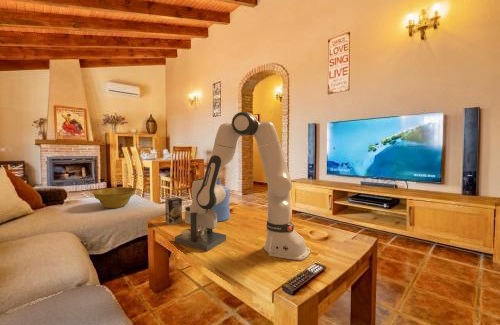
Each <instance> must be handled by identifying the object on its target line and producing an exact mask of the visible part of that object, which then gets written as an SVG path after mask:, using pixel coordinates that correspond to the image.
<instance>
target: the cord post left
mask: <svg viewBox="0 0 500 325" xmlns="http://www.w3.org/2000/svg"><path fill="white" fill-rule="evenodd" d="M190 218H191V224H190V230H191V241H196V240H197V213H190Z"/></svg>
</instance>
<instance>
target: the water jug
mask: <svg viewBox="0 0 500 325" xmlns="http://www.w3.org/2000/svg"><path fill="white" fill-rule="evenodd" d="M216 184H217V185H221V186H223V187H224V189H225V190H226V198H225V199H224V200H223V201H222V202H220V203H219V204H217V205H215V206H214V207H212V211H214V212H215V213H216V214H217V223H218V222H219V223H220V222H224V221H225V222H226V221H228V220H229V219H230V217H231V215H230V214H231V213H230V210H231V209H230V195H231V194H230V192H231V191H230V187H227V186H225V185H223V184H221V178H219V177H218V179H217V183H216Z"/></svg>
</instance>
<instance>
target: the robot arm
mask: <svg viewBox="0 0 500 325" xmlns="http://www.w3.org/2000/svg"><path fill="white" fill-rule="evenodd" d="M247 136H253V137H254V139H255V141H256V146H257V149H258V152H259V156H260V159H261V164H262V168H263V172H264V176H265V180H266V183H267V220H266V238H265V239H266V240H265V244H264V246H263V248H264V249H263V250H264V251H265V252H267V254H268V256H269V257H273V258H279V259H280V258H282V259H288V260H292V261H294V260H295V261H304V260H307V258H308V257H309V256H310V255H311V248H309V247H308V246H306V240H305V239H304V237H303V236H302V235H301V234H299V233H298V232H297V231H296V230H295V229H294V228H295V225H296V224H295V223H292V222H291V195H290V194H291V192H290V191H291V190H292V188H293V183H292V179H291V175H290V173H289V172H290V171H289V169H288V165H287V162H286V159H285V156H284V150H283V148H282V144H281V140H280V136H279V134H278V131H277V129H276V127H275V125H274V123H273V122H271V121H268V120H265V121H264V120H263V121H259V120H258V118H257V116H255V115H254V114H252V113H250V112H248V111H240V112H239V111H238V112H237V113H235V115H234V116H233V117H232V119H231V123H228V122H226V123H225V122H224V123H222V124H220V125H219V127H218V129H217V132H216V135H215V138H214V143H213V148H212V152H211V155H210V157H209V159H208V160H209V161H208V163H207V166H206V169H205V173H204V177H201V178H196V179H194V180H193V182H192V184H191V185H192V186H191V197H192V201H191V204H190V205H188V206H185V207H184V222H185V224H188V225H191V218H190V213H197V230H198V234H202V235H203V234H204V230H205V228H210V229H213V230H215V229H217V228H218V222H217V214H216V213H215V212H214V211H211V210H209V209H211V208H212V207H214V206H215V205H217V204H219V203H220V202H222V201H223V200H224V199H225V198H226V190H225V189H224V187H223V186H224V185H223V186H221V185H222V184H221V185H217V184H216V183H217V179H218V178H219V175H220V172H221V171H222V170H223V168H224V167H225V166H227V165H228V164H229V163H231V161H232V160H233V159H234V156H235V153H236V149H237V146H238V140H239V138H241V137H247ZM200 226H201V228H202V230H201V229H200ZM309 254H310V255H309Z"/></svg>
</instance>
